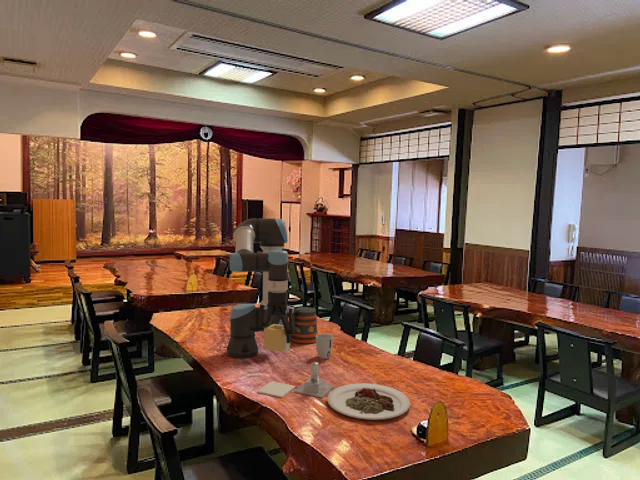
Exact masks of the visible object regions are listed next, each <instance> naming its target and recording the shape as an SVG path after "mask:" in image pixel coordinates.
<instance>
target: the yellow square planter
mask: <svg viewBox="0 0 640 480" xmlns="http://www.w3.org/2000/svg"><path fill="white" fill-rule="evenodd" d="M285 334H286V332H285V329H284V326H283V325H278V324H273V325H270V326H268V327H266V328H264V332H263V350H268V351H274V352H278V353H279V352H284V335H285ZM290 347H291V342H290V343H289V348H290Z"/></svg>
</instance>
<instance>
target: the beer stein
mask: <svg viewBox="0 0 640 480" xmlns="http://www.w3.org/2000/svg"><path fill="white" fill-rule="evenodd" d="M288 306H289V307H294V308H295V310H294V318H295V327H296V332H295V333H293V334H291V342H292V343H296V344H305V345H306V344H316V335H319V332H318V326H317V324H318V318H317V317H318V316H317V313H316V312H317V310H316V307H309V306H302V307H301V306H300V307H296V306H294V305H292V304H288ZM287 319H288V322H289V317H288V310H287Z"/></svg>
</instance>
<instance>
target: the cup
mask: <svg viewBox="0 0 640 480" xmlns="http://www.w3.org/2000/svg"><path fill="white" fill-rule="evenodd" d="M333 340H334V336H333V335H332V334H330V333H329V334H328V333H320V334H319V333H318V335H316V342H315V345H316V353H317V355H318V358H320V359H323V360H326V359H329V358H330V357H331V354H332V349H333V345H334V344H333V342H334V341H333Z"/></svg>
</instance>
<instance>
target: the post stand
mask: <svg viewBox="0 0 640 480" xmlns="http://www.w3.org/2000/svg"><path fill="white" fill-rule="evenodd" d="M319 368H320V363H319V362H318V361H312V362H311V363H310V377H309V378H308V379H306V380H305V381H304V382H303V383H302V384H301V385H299V386H297V387H296V388H295V389H293V393H295V394H300V395H306V396H309V397H315V398H319V399H323V398H324V397H326V395H328V394H329V393H330V392H331V391H332V390H334V389H335V385H334V384H329V383H326V379H324V378H319V377H320V374H319V373H320V371H319V370H320V369H319Z"/></svg>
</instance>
